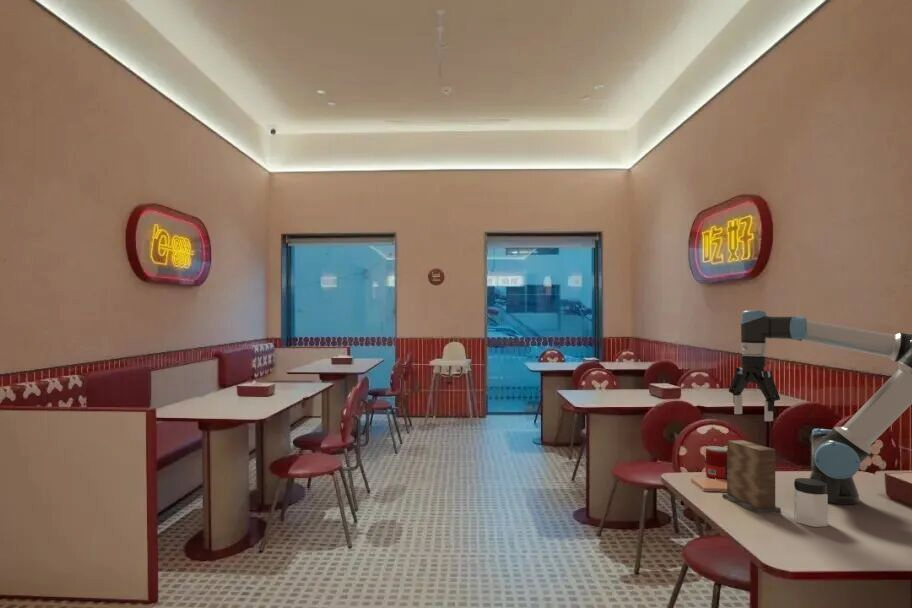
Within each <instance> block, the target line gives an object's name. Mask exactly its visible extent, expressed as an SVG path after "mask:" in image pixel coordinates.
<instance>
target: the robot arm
mask: <svg viewBox="0 0 912 608" xmlns="http://www.w3.org/2000/svg"><path fill="white" fill-rule="evenodd" d="M740 318H741V320H740V321H741V322H740V340H741V341H740V342H741V346H740V353H741V354H742V355H741V356H740V365H741V366H742V367H736V368H735V369H734V370H735V372H734V376H733V379H732V381H731V384H730V385H729V389H728V392H729V393H731V395H733V398H732V399H733V408H734V409H733V411H734V412H733V413H734V415H742V414H743V394H742V393H743V391H744V390H745V388H746V387H747V386H748V385H749V383H753V384H756V385H757V386H758V388H759V390H760V391H761V394H762V395H763V396H764V398H765V400H764V422H773V421H774V412H775V401H780V400H781V398H780V394H779V392H778V389H777V387H776V386H777V385H776V383H775V380H774V378H773V372H772V371H771V370H764V368H766V363H767V361H766V360H767V359H766V356H765V355H766V353H767V352H766V351H767V346H766V345H767V339H777V340H778V339H781V340H794V341H799V342H805V343H809V344H816V345H820V346H826V347H832V348H837V349H844V350H846V351H847V350H848V351H854V352H857V353H865V354H869V355H874V356H880V357H886V358H889V360H891V361H893V362H896V363H897V365H898V366H897V367H898V369H897V370H896V371H895V372H894V373H893V374H892V375H891V376H890V377H889V378H888V380H886V381H885V382H884V383H883V385H882V386H881V387H880V388H879V389H878V390H877V391H876V392H875V393H873V395H872V396H871V397H870V398H869V399H868V400H867V401H866V402H865V403H864V404H863V405H862V406H861V408H859V409H858V410H857V412H855V414H854V415H853V416H851V418H850V419H849V420H847V422H846V423H845V424H843V426H835V427H833V428H832V429H827V428H813V429H812V430H811V435H810V438H811V473H810V475H809V477H808V478H809V479H815V480H819V481H822V482H825V483H826V484H827V495H828V503H831V504H837V505H856V504H859V503H860V494H859V491H858V488H857V487H856V482H855V480H854V477H853V476H855V475H856V474H857V472H859V470H860V467H861V464H862V463H863V462H864V461H865V460H866V459H867V458H868V457H869V456H870V455H871V454H872V452H871V451H872V450H871V446H872V444H873V443H875V441H877V440H878V439H879V437H881V436H882V435H883V434H884V433H885V432H886V430H887V429H888V428H890V427H891V426H892V424H894V423H895V421H896V420H897V419H898V418H900V417H901V415H903V414H904V412H906V411H907V409H909V407H910V406H912V333H911V334H910V333H904V332H898V333H895V334H891V333H885V332H880V331H873V330H868V329H862V328H855V327H849V326H844V325H843V326H842V325H837V324H831V323H825V322H818V321H814V320H807V318H806V316H805V317H804V316H796V315H794V316H769V315H767V312H766V311H765V310H744V311H742V312H741V317H740Z"/></svg>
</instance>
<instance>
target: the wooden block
mask: <svg viewBox="0 0 912 608" xmlns="http://www.w3.org/2000/svg"><path fill="white" fill-rule="evenodd" d="M726 441H727V443H726V444H727V445H726V448H727V479H726V481H727V492H725V493H722V498H723V497H724V499H725V498H726V499H725V500H727V499H728V501H730V502H732V503H734V502H735V503H734V504H736V503H737V505H739V506H741V507H743V508H746V509H748V510H750V511H753V512H755V513H757V514H759V513H760V514H772V513H781V507H779V506H777V505H776V449H775V448H771V447H768V446H764V445H761V444H757V443H754V442H750V441H747V440H744V439H738V440H736V439H733V440H726Z"/></svg>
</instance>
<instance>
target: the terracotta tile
mask: <svg viewBox="0 0 912 608" xmlns="http://www.w3.org/2000/svg"><path fill="white" fill-rule="evenodd" d="M690 481H691V483H692V484H693V485H695V486H696V487H697V486H698V488H699V490H701V489H702V490H703V491H702V490H701V491H702V492H706V491H721V492H720V493H727V479H713V478H699V477H698V478H697V477H696V478H695V477H692V478H690Z"/></svg>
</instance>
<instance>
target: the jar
mask: <svg viewBox="0 0 912 608" xmlns="http://www.w3.org/2000/svg"><path fill="white" fill-rule="evenodd" d="M793 485H794V486H793V518H794V520H795V522H796V523H797V524H800V525H805V526H808V527H813V528H822V527H823V528H825V527H828V524H829V523H828V511H829V510H828V509H829V505H828V503H829V502H828V495H827V484H826V483H825V482H822V481H819V480H815V479H809V477H797V478H795V479H794V483H793Z"/></svg>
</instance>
